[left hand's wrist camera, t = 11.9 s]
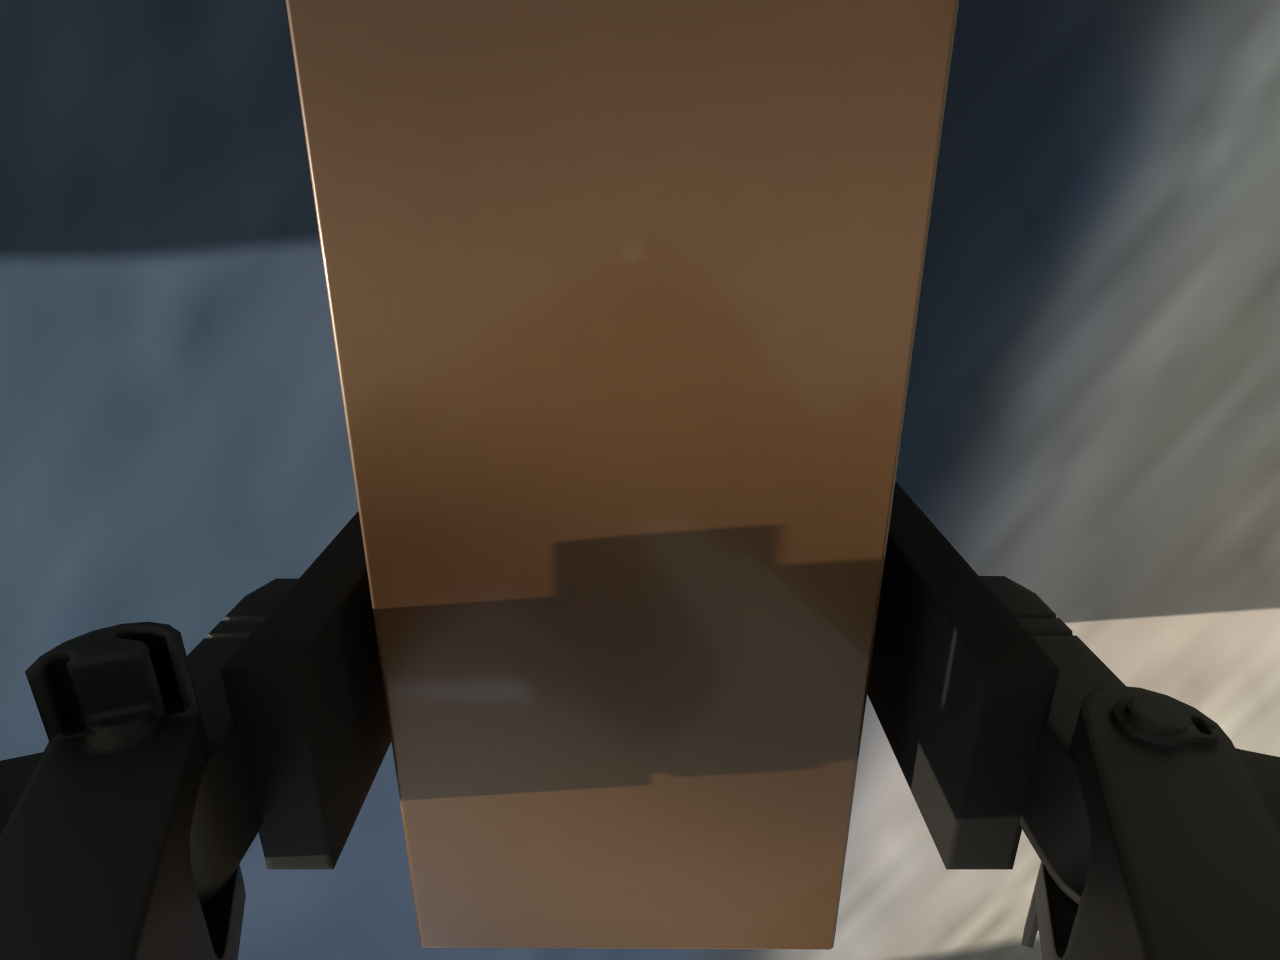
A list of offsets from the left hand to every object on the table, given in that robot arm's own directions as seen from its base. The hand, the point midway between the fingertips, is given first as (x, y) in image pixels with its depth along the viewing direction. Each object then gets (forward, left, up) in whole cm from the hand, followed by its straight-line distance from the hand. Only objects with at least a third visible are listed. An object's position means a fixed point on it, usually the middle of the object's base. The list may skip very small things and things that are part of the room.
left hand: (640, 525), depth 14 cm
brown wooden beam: (+18, +13, -2) cm, 23 cm away
